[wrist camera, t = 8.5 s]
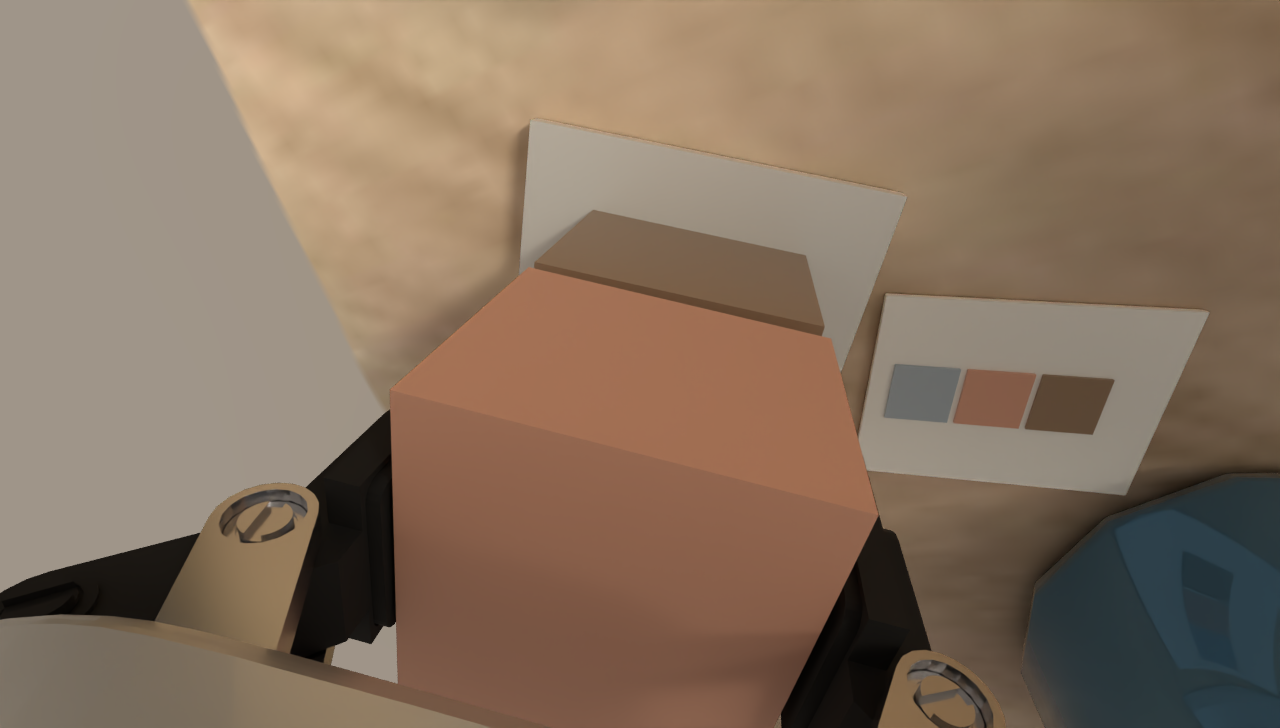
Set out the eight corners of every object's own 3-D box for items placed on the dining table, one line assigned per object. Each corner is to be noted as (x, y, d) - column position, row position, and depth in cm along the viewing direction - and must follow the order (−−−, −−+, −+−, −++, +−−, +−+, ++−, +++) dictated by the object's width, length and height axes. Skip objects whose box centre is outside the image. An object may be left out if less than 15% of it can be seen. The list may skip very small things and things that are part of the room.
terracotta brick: (831, 338, 11) (878, 515, 7) (748, 561, 14) (743, 788, 10) (528, 266, 12) (390, 390, 7) (507, 498, 14) (397, 686, 10)
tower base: (902, 192, 16) (970, 251, 11) (792, 485, 20) (805, 620, 15) (537, 118, 16) (443, 140, 11) (513, 417, 21) (439, 525, 16)
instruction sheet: (1204, 309, 16) (1212, 314, 15) (1122, 491, 18) (1127, 497, 18) (885, 293, 17) (887, 297, 17) (852, 465, 19) (853, 471, 19)
